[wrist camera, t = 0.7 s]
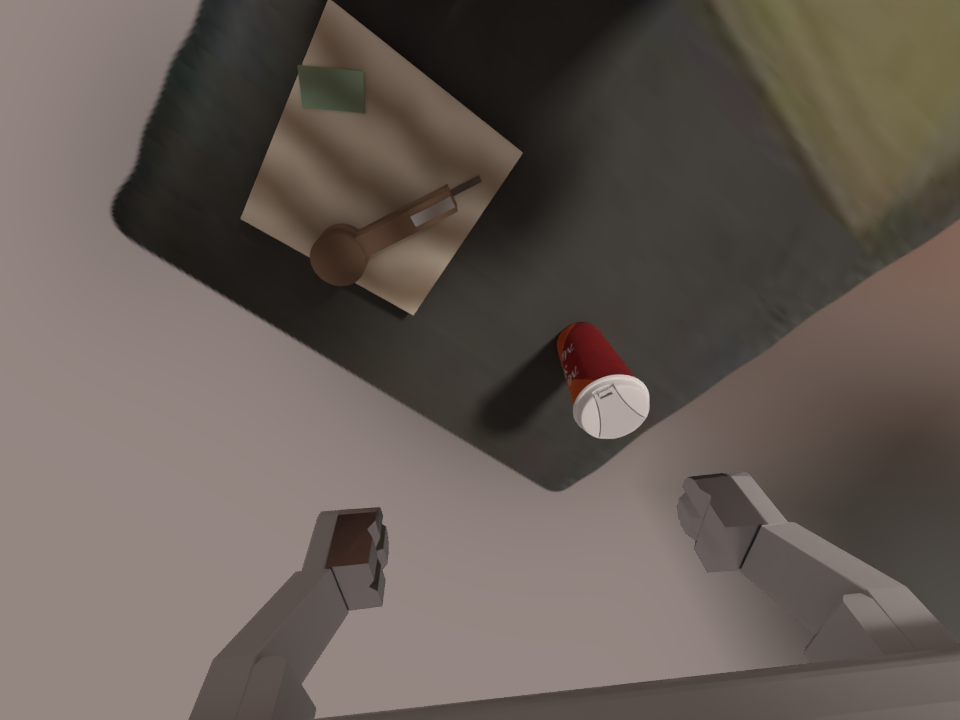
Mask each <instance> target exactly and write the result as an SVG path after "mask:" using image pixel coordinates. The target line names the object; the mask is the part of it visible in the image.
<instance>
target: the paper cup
mask: <svg viewBox="0 0 960 720" xmlns="http://www.w3.org/2000/svg"><path fill="white" fill-rule="evenodd" d="M557 350H558V354H559V358H560V361H561V365H562V368H563V372H564V375H565V378H566V382H567V385H568V388H569V392H570V395H571V398H572V402H573V405H574V406H573V415H574V419H575V421H576V423H577V424H578V425H579V426H580V427H581V428H582V429H584V430H585V431H586V432H587V433H588V434H590V435H592V436H594V437H596V438H603V439H613V438H619V437H622V436H625V435H627V434H629V433H631V432H633V431H634V430H636V429H637V428H638V427H639V426H640V425H641V424H642V423H643V421H644V420H645V419H646V417H647V415H648V412H649V392H648V389H647V388H646V386H645V385H644V384H643V382H641V381H640V380H639V379H637V378H635V377H634V375H633V374H632V373H631V371H630V370H629V369H628V367H627V366H626V365H625V364H624V362H623V361H622V360H621V358H620V357H619V356H618V354H617V353H616V352H615V350H614V349H613V348H612V346H611V345H610V344H609V343H608V341H607V340H606V339H605V337H604V336H603V335H602V334H601V332H600V331H599V330H598V329H597V328H596V327H595V326H593V325H592V324H589V323H585V322H579V323H574V324H572V325H570V326H568V327H566V328H565V329H564V330H563V331H562V332H561V333H560V335H559V337H558V340H557Z"/></svg>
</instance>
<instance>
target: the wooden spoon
mask: <svg viewBox="0 0 960 720" xmlns="http://www.w3.org/2000/svg"><path fill="white" fill-rule="evenodd" d="M456 212H458V211H457V203H456V201H455V199H454V197H453V195H452V193H451V190H450V188H449V186H448V184H446V185H444V186H442V187H440V188H438V189H437V190H435V191H433V192H431V193H429V194H427V195H425V196H423V197H421V198H419V199H417V200H415V201H413V202H411V203H410V204H408V205H406V206H404V207H402V208H400V209H398V210H396V211H394V212H392V213H390V214H388V215H386V216H385V217H383V218H381V219H379V220H377V221H375V222H373V223H371V224H369V225H367V226H365V227H363V228H361V229H357V228H355V227H354V226H351V225H348V224H335V225H332V226H330V227H328V228H327V229H326V230H325V231H324V232H323V233H322V234H321V235H320V237H319V238H318V239H317V240H316V242H315V243H314V244H313V246H312V248H311V251H310V262H311V265H312V268H313V270H314V271H315V273H316V274H317V275H318V276H319V277H320V278H321V279H322V280H324V281H325V282H327V283H329V284H332V285H335V286H348V285H351V284H353V283H355V282H357V281H358V280H359V279H360V278H361V276H362V275H363V273H364V270H365V268H366V266H367V264H368V261H369V259H370V256H371V255H373V254H375V253H377V252H379V251H381V250H383V249H385V248H387V247H389V246H391V245H393V244H395V243H397V242H399V241H401V240H403V239H405V238H407V237H409V236H410V235H412V234H414V233H416V232H418V231H420V230H422V229H424V228H426V227H428V226H430V225H432V224H434V223H436V222H438V221H440V220H442V219H444V218H446V217H448V216H450V215H452V214H454V213H456Z"/></svg>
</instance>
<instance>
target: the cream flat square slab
mask: <svg viewBox="0 0 960 720" xmlns="http://www.w3.org/2000/svg"><path fill="white" fill-rule="evenodd" d="M297 66H298V76H297V78H296V81H295V83H294V86H293V88H292V91H291V93H290V96H289V98H288V101H287V103H286V106H285V108H284V111H283V113H282V116H281V118H280V121H279V123H278V126H277V128H276V131H275V133H274V136H273V138H272V141H271V143H270V146H269V148H268V151H267V153H266V156H265V158H264V161H263V163H262V166H261V168H260V171H259V173H258V176H257V178H256V181H255V183H254V186H253V188H252V191H251V193H250V196H249V198H248V201H247V203H246V206H245V208H244V211H243V213H242V216H241V218H240V219H241V220H243V221H245V222H247V223H249V224H250V225H252V226H254V227H256V228H257V229H259V230H261V231H263V232H265V233H266V234H268V235H270V236H272V237H274V238H275V239H277V240H279V241H281V242H283V243H284V244H286V245H288V246H290V247H292V248H293V249H295V250H297V251H299V252H301V253H302V254H304V255H306V256H308V257H309V258H310V251H311V248H312V246H313V244H314V243H315V242H316V240H317V239H318V238H319V237H320V235H321V234H322V233H323V232H324V231H325V230H326V229H327V228H328V227H330V226H332V225H335V224H348V225H351V226H354V227H355V228H357V229H361V228H363V227H365V226H367V225H369V224H371V223H373V222H375V221H377V220H379V219H381V218H383V217H385V216H386V215H388V214H390V213H392V212H394V211H396V210H398V209H400V208H402V207H404V206H406V205H408V204H410V203H411V202H413V201H415V200H417V199H419V198H421V197H423V196H425V195H427V194H429V193H431V192H433V191H435V190H437V189H438V188H440V187H442V186H444V185H446V184H448V186H449V188H450V190H451V193H452V195H453V197H454V199H455V201H456V203H457V211H458V212H456V213H454V214H452V215H450V216H448V217H446V218H444V219H442V220H440V221H438V222H436V223H434V224H432V225H430V226H428V227H426V228H424V229H422V230H420V231H418V232H416V233H414V234H412V235H410V236H409V237H407V238H405V239H403V240H401V241H399V242H397V243H395V244H393V245H391V246H389V247H387V248H385V249H383V250H381V251H379V252H377V253H375V254H373V255H371V256H370V259H369V261H368V264H367V266H366V268H365V270H364V273H363V275H362V276H361V278H360V279H359V280H358V281H357V282H355V283H356V284H358V285H360V286H361V287H363V288H365V289H367V290H369V291H370V292H372V293H374V294H376V295H378V296H379V297H381V298H383V299H385V300H387V301H388V302H390V303H392V304H394V305H396V306H397V307H399V308H401V309H403V310H404V311H406V312H408V313H410V314H412V315H414V314H415V312H416V311H417V309H418V308H419V306H420V305H421V303H422V302H423V300H424V299H425V297H426V296H427V294H428V293H429V291H430V290H431V288H432V287H433V286H434V284H435V283H436V281H437V280H438V278H439V277H440V275H441V274H442V272H443V271H444V269H445V268H446V266H447V265H448V263H449V262H450V260H451V259H452V257H453V256H454V254H455V253H456V251H457V250H458V248H459V247H460V245H461V244H462V243H463V241H464V240H465V238H466V237H467V235H468V234H469V232H470V231H471V229H472V228H473V226H474V225H475V223H476V222H477V220H478V219H479V217H480V216H481V214H482V213H483V211H484V210H485V208H486V207H487V205H488V204H489V203H490V201H491V200H492V198H493V197H494V195H495V194H496V192H497V191H498V189H499V188H500V186H501V185H502V183H503V182H504V180H505V179H506V177H507V176H508V174H509V173H510V171H511V170H512V168H513V167H514V165H515V164H516V162H517V161H518V160H519V158H520V157H521V155H522V154H523V153H522V152H521V151H520V150H519V149H518V148H517V147H515V146H514V145H513V144H512V143H510V142H509V141H508V140H507V139H505V138H504V137H503V136H502V135H500V134H499V133H498V132H497V131H495V130H494V129H493V128H492V127H490V126H489V125H488V124H487V123H485V122H484V121H483V120H482V119H480V118H479V117H478V116H477V115H475V114H474V113H473V112H472V111H470V110H469V109H468V108H467V107H465V106H464V105H463V104H462V103H460V102H459V101H458V100H456V99H455V98H454V97H453V96H451V95H450V94H449V93H448V92H446V91H445V90H444V89H443V88H441V87H440V86H439V85H438V84H436V83H435V82H434V81H433V80H431V79H430V78H429V77H428V76H426V75H425V74H424V73H423V72H421V71H420V70H419V69H418V68H416V67H415V66H414V65H413V64H411V63H410V62H409V61H408V60H406V59H405V58H404V57H403V56H401V55H400V54H399V53H398V52H396V51H395V50H394V49H393V48H391V47H390V46H389V45H388V44H386V43H385V42H384V41H382V40H381V39H380V38H379V37H377V36H376V35H375V34H374V33H372V32H371V31H370V30H369V29H367V28H366V27H365V26H364V25H362V24H361V23H360V22H359V21H357V20H356V19H355V18H354V17H352V16H351V15H350V14H349V13H347V12H346V11H345V10H344V9H342V8H341V7H340V6H339V5H337V4H336V3H335V2H333V1H332V0H328V1H327V3H326V6H325V8H324V11H323V13H322V16H321V18H320V21H319V23H318V26H317V28H316V31H315V33H314V36H313V38H312V41H311V43H310V46H309V48H308V51H307V53H306V56H305V58H304V61H303V63H302V65H297Z"/></svg>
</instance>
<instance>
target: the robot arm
mask: <svg viewBox="0 0 960 720" xmlns="http://www.w3.org/2000/svg"><path fill="white" fill-rule="evenodd" d="M683 488H684V490H685V492H686V493H685V494H683V495H682V496H681V497H680V498H679V501H678V505H677V510H678V518H679V520H680V523H681V526H682V528H683V530H684V531H685V533H686V534H687V535H688V536H690V537H691V538H693V539H694V540H695V546H694V550H695V551H696V553H697V555H698V557H699V559H700V560H701V562H702V564H703V566H704V567H705V569H706V571H707V572H720V571H733V570H740V572H741V573H742V574H743V575H744V576H745V577H747V578H748V579H749V580H750V581H752V582H753V583H754V584H755V585H756V586H758V587H759V588H760V589H761V590H762V591H764V592H765V593H766V594H767V595H768V596H770V597H771V598H772V599H773V600H774V601H776V602H777V603H778V604H779V605H780V606H782V607H783V608H784V609H785V610H786V611H788V612H789V613H790V614H791V615H792V616H794V617H795V618H796V619H797V620H798V621H800V622H801V623H802V624H803V625H804V626H806V627H807V628H808V629H809V630H810V631H812V632H813V633H814V634H815V635H814V636H813V638H812V639H811V640H810V642H809V643H808V645H807V646H806V647H805V650H804V655H805V657H806V658H807V660H808V661H809V664H799V665H790V666H782V667H773V668H763V669H755V670H746V671H736V672H727V673H719V674H711V675H702V676H692V677H683V678H675V679H665V680H656V681H648V682H638V683H630V684H620V685H611V686H603V687H593V688H584V689H576V690H567V691H558V692H549V693H540V694H531V695H522V696H513V697H504V698H495V699H487V700H478V701H470V702H460V703H451V704H442V705H433V706H424V707H416V708H407V709H397V710H389V711H380V712H371V713H362V714H353V715H344V716H336V717H327V718H318V719H314V717H315V712H316V707H315V706H314V704H313V702H312V701H311V699H310V697H309V696H308V694H307V692H306V691H305V689H304V688H303V686H302V682H303V681H304V680H305V678H306V676H307V675H308V674H309V672H310V671H311V669H312V667H313V666H314V664H315V663H316V661H317V660H318V658H319V657H320V655H321V654H322V652H323V651H324V649H325V648H326V646H327V645H328V643H329V642H330V640H331V639H332V637H333V636H334V634H335V633H336V631H337V630H338V628H339V627H340V625H341V624H342V622H343V621H344V619H345V618H346V616H347V614H348V611H349V610H357V609H365V608H372V607H379V606H382V605H383V596H384V588H385V577H384V574H383V568H384V567H385V566H386V565H387V563H388V553H389V552H388V549H389V547H388V546H389V545H388V544H389V543H388V542H389V541H388V533H387V529H386V526H384V525H383V524H382V519H383V514H382V511H381V508H380V507H377V508H363V509H347V510H335V511H323V512H321V513H320V514H319V516H318V517H317V520H316V524H315V528H314V531H313V534H312V537H311V541H310V544H309V548H308V551H307V554H306V558H305V561H304V565H303V568H302V571H299V572H295V573H294V574H293V575H292V576H291V577H290V578H289V579H288V581H287V582H286V583H285V584H284V585H283V586H282V587H281V588H280V589H279V590H278V591H277V592H276V593H275V594H274V595H273V597H272V598H271V599H270V600H269V601H268V602H267V603H266V604H265V605H264V606H263V607H262V608H261V609H260V610H259V611H258V613H257V614H256V615H255V616H254V617H253V618H252V619H251V620H250V621H249V622H248V623H247V624H246V625H245V626H244V627H243V629H242V630H241V631H240V632H239V633H238V634H237V635H236V636H235V637H234V638H233V639H232V640H231V641H230V642H229V644H227V646H226V647H225V648H224V649H223V650H222V651H221V652H220V653H219V654H218V655H217V656H216V657H215V658H214V659H213V661H212V663H211V666H210V668H209V671H208V673H207V676H206V678H205V681H204V683H203V686H202V688H201V690H200V693H199V695H198V698H197V700H196V703H195V705H194V708H193V710H192V713H191V715H190V717H189V720H960V644H959V643H958V642H957V641H956V639H955V638H954V637H953V636H952V635H951V634H950V633H949V632H948V631H947V630H946V629H945V628H944V627H943V626H942V625H941V623H940V622H939V621H938V620H937V619H936V618H935V617H934V616H933V615H932V614H931V613H930V612H929V611H928V610H927V608H926V607H925V606H924V605H923V604H922V603H921V602H920V601H919V600H918V599H917V598H916V597H915V596H914V595H913V593H911V591H910V590H909V589H908V588H907V587H905V586H904V585H902V584H900V583H899V582H897V581H895V580H893V579H892V578H890V577H888V576H886V575H885V574H883V573H881V572H879V571H878V570H876V569H874V568H872V567H871V566H869V565H867V564H866V563H864V562H862V561H860V560H859V559H857V558H855V557H854V556H852V555H850V554H848V553H846V552H845V551H843V550H841V549H840V548H838V547H836V546H834V545H833V544H831V543H829V542H828V541H826V540H824V539H822V538H821V537H819V536H817V535H815V534H814V533H812V532H810V531H808V530H807V529H805V528H803V527H802V526H800V525H798V524H796V523H795V522H787V521H786V519H785V518H784V517H783V516H782V514H781V513H780V512H779V511H778V509H777V508H776V507H775V506H774V505H773V503H772V502H771V501H770V500H769V498H768V497H767V496H766V495H765V494H764V492H763V491H762V490H761V489H760V487H759V486H758V485H757V484H756V483H755V481H754V480H753V479H752V477H751V476H750V475H749V474H747V473H746V472H734V473H725V474H723V473H720V474H711V475H701V476H692V477H688V478H686V479H685V480H684V483H683Z"/></svg>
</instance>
